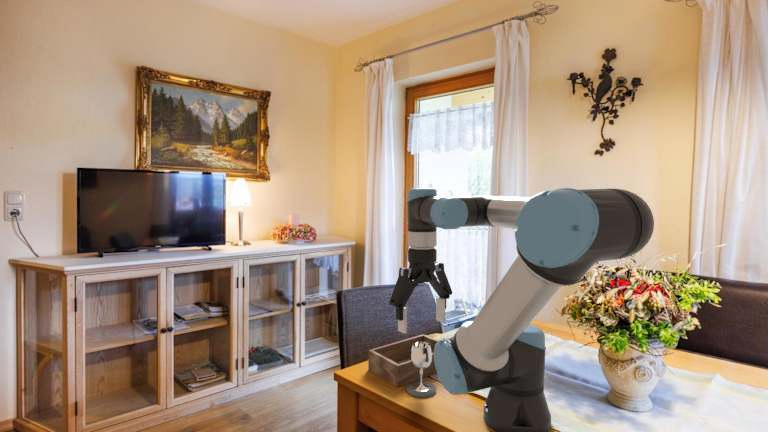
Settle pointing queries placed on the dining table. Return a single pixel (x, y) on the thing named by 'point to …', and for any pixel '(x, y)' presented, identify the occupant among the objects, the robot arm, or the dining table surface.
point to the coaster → (421, 394)
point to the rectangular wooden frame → (388, 355)
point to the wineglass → (421, 361)
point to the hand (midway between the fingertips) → (422, 326)
